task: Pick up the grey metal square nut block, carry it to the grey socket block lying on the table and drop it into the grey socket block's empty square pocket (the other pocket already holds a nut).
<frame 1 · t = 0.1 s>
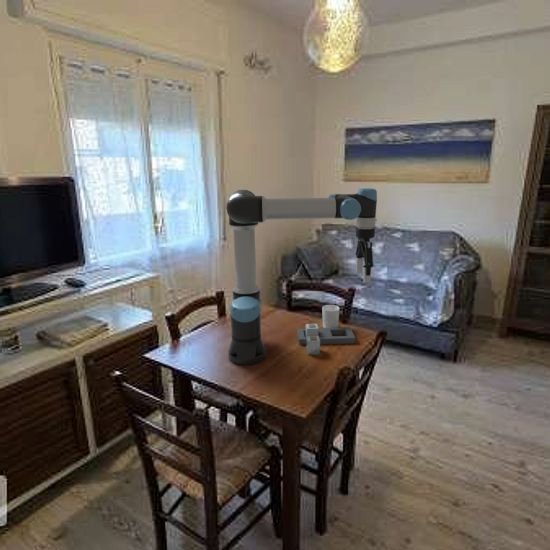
hand: (362, 277, 168), 28 cm above the table, fingers open, 13 cm apart
grey socket block: (325, 338, 177), on the table
white cup: (330, 328, 187), on the table
nut block: (312, 351, 165), on the table
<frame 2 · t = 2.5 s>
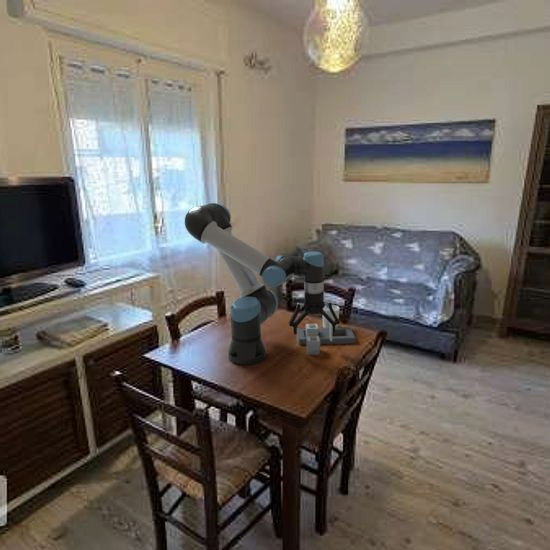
hand: (314, 340, 163), 5 cm above the table, fingers open, 13 cm apart
nothing on the table moved.
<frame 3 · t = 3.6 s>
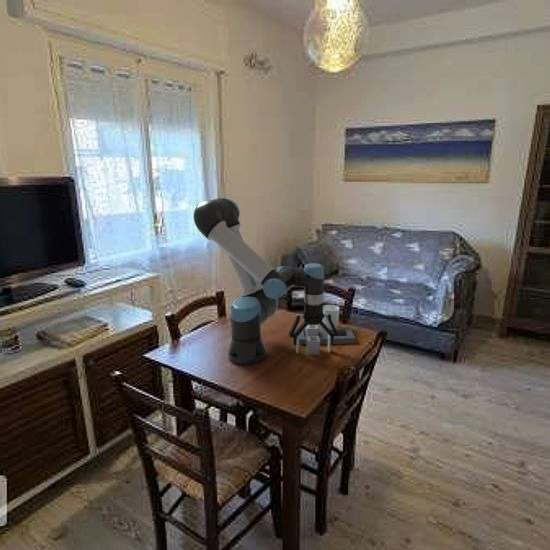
hand: (313, 351, 165), 0 cm above the table, fingers open, 12 cm apart
nothing on the table moved.
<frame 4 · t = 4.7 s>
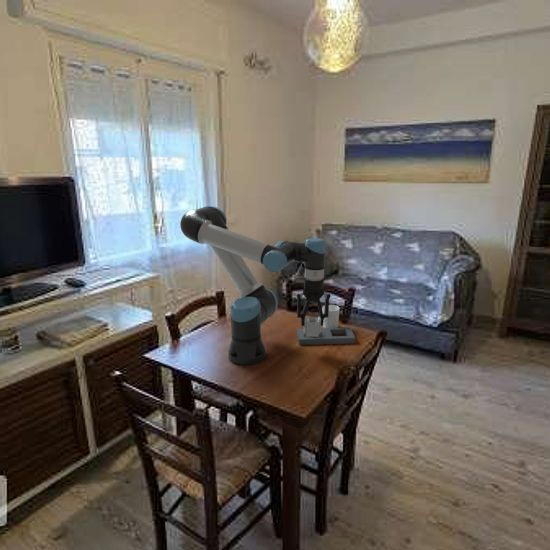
hand: (311, 332, 163), 8 cm above the table, fingers closed on nut block, 5 cm apart
nut block: (311, 333, 163), point 8 cm above the table, touching gripper
everything else where it was.
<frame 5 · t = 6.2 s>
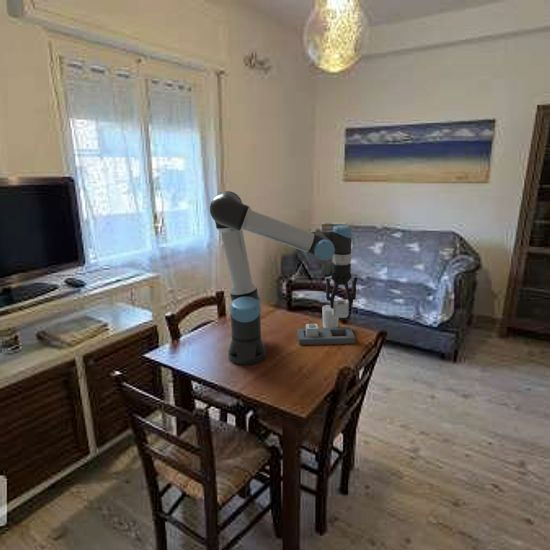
hand: (340, 314, 174), 11 cm above the table, fingers closed on nut block, 5 cm apart
nut block: (340, 315, 173), point 11 cm above the table, touching gripper
everything else where it was.
when the fingers open (3 cm above the table, at t = 7.7 s): nut block drops 3 cm, resting in grey socket block.
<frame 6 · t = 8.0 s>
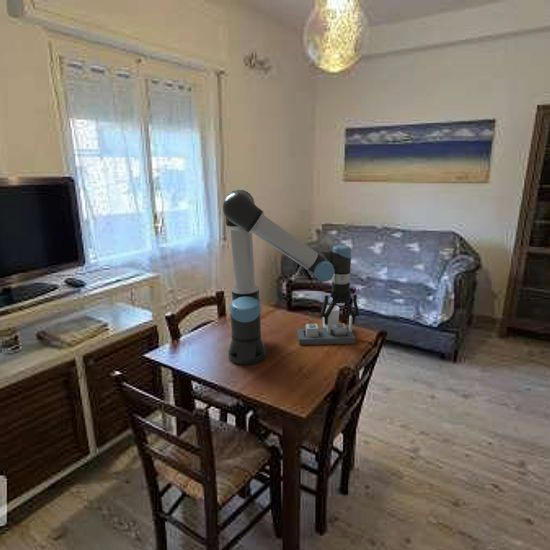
hand: (339, 330, 176), 4 cm above the table, fingers open, 9 cm apart
nut block: (339, 338, 177), resting in grey socket block
everything else where it was.
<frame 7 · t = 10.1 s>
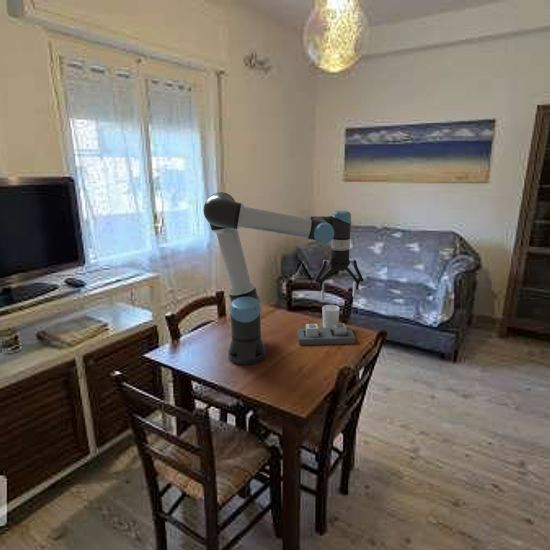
hand: (338, 297, 172), 19 cm above the table, fingers open, 13 cm apart
nothing on the table moved.
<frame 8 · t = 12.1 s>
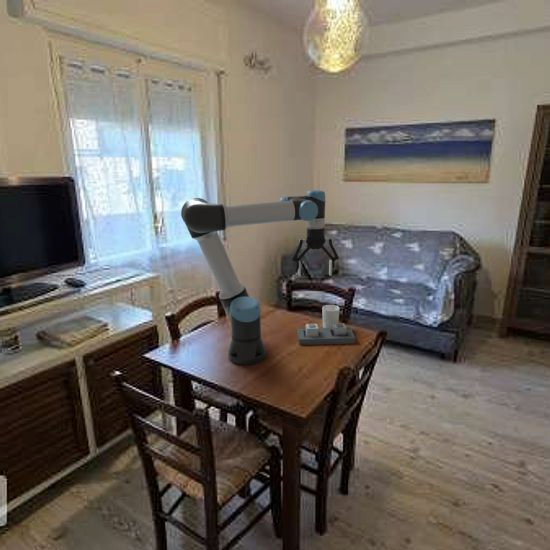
hand: (314, 275, 176), 27 cm above the table, fingers open, 13 cm apart
nothing on the table moved.
at the end: nut block 0.1 cm from the target spot on the grey socket block, point 0.0 cm above the grey socket block's base; nut block tilted 0°; the gripper is holding nothing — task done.
